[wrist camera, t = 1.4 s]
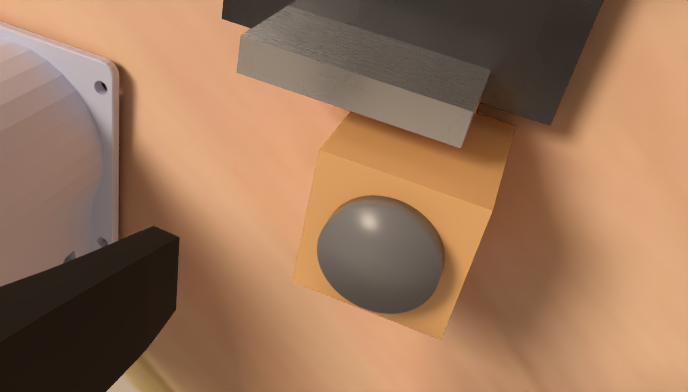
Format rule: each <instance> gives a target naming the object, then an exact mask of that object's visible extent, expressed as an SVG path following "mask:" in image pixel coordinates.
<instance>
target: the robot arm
mask: <svg viewBox="0 0 688 392" xmlns="http://www.w3.org/2000/svg"><path fill="white" fill-rule="evenodd" d="M101 82H103V83H104V84H105V85H106V87H107V90H106V89H104V87H103V86H102V83H101ZM118 223H119V71H118V69H117V67H116V65H115V64H114V63H113V62H112V61H111V60H109V59H107V58H104V57H102V56H99V55H96V54H93V53H90V52H87V51H84V50H81V49H79V48H76V47H73V46H70V45H67V44H64V43H61V42H58V41H56V40H53V39H50V38H47V37H44V36H41V35H38V34H35V33H33V32H30V31H27V30H24V29H21V28H18V27H15V26H12V25H9V24H7V23H4V22H1V21H0V392H106V391H107V390H108V389H109V388H110V387H111V386H112V385H113V384H114V383H115V382H116V381H117V380H118V379H119V378H120V377H121V376H122V375H123V374H124V373H125V372H126V370H127V369H128V368H129V367H130V366H131V365H132V364H133V363H134V362H135V361H136V360H137V359H138V358H139V357H140V356H141V355H142V354H143V352H144V351H145V350H146V349H147V348H148V347H149V345H150V344H151V343H152V341H153V340H154V339H155V337H156V336H157V335H158V334H159V332H160V331H161V330H162V328H163V327H164V325H165V324H166V323H167V321H168V320H169V318H170V317H171V316H172V314H173V313H174V312H175V310H176V297H177V276H178V255H179V237H177V236H175V235H173V234H171V233H168V232H166V231H164V230H162V229H159V228H157V227H155V226H153V227H150V228H148V229H145V230H143V231H140V232H138V233H135V234H133V235H131V236H128V237H126V238H123V239H121V240H119V241H118Z"/></svg>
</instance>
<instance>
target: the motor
mask: <svg viewBox="0 0 688 392" xmlns="http://www.w3.org/2000/svg"><path fill="white" fill-rule="evenodd" d="M602 2H603V0H224V1H223V11H222V19H224V20H227V21H230V22H234V23H237V24H240V25H243V26H246V27H249V28H252V29H250V30H249V31H247V32H246V33H244V34H243V35H241V39H240V48H239V56H238V65H237V73H240V74H243V75H246V76H249V77H251V78H254V79H257V80H260V81H263V82H266V83H269V84H272V85H275V86H278V87H281V88H284V89H287V90H290V91H293V92H296V93H299V94H302V95H305V96H308V97H310V98H313V99H316V100H319V101H322V102H325V103H328V104H331V105H334V106H337V107H340V108H343V109H346V110H349V111H352V112H355V113H358V114H361V115H364V116H367V117H369V118H372V119H375V120H378V121H381V122H384V123H387V124H390V125H393V126H396V127H399V128H402V129H405V130H408V131H411V132H414V133H417V134H420V135H423V136H426V137H428V138H431V139H434V140H437V141H440V142H443V143H446V144H449V145H452V146H455V147H458V148H461V147H462V144H463V142H464V140H465V137H466V135H467V132H468V130H469V127H470V125H471V123H472V120H473V118H474V115H475V113H476V111H477V108H478V106H479V103H482V104H486V105H489V106H492V107H495V108H498V109H501V110H504V111H507V112H510V113H513V114H516V115H519V116H522V117H526V118H529V119H532V120H535V121H538V122H541V123H544V124H547V125H551V122H552V120H553V118H554V115H555V113H556V111H557V108H558V106H559V104H560V101H561V99H562V96H563V94H564V92H565V89H566V87H567V85H568V82H569V80H570V78H571V75H572V73H573V71H574V68H575V66H576V63H577V61H578V59H579V56H580V54H581V52H582V49H583V47H584V45H585V42H586V40H587V37H588V35H589V33H590V30H591V28H592V26H593V23H594V21H595V19H596V16H597V14H598V12H599V9H600V7H601V4H602Z"/></svg>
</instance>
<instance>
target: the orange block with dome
mask: <svg viewBox="0 0 688 392" xmlns="http://www.w3.org/2000/svg"><path fill="white" fill-rule="evenodd" d="M515 128H516V126H514V125H511V124H508V123H504V122H501V121H498V120H495V119H492V118H489V117H486V116H483V115H480V114H477V113H475V115H474V118H473V120H472V123H471V125H470V127H469V130H468V132H467V135H466V137H465V140H464V142H463V144H462V147H461V148H458V147H455V146H452V145H449V144H446V143H443V142H440V141H437V140H434V139H431V138H428V137H426V136H423V135H420V134H417V133H414V132H411V131H408V130H405V129H402V128H399V127H396V126H393V125H390V124H387V123H384V122H381V121H378V120H375V119H372V118H369V117H367V116H364V115H361V114H358V113H355V112H352V111H351V112H350V113H349V114H348V115H347V117H346V118H345V119H344V120H343V121H342V123H341V124H340V125H339V126H338V128H337V129H336V130H335V131H334V132H333V134H332V135H331V136H330V137H329V138H328V140H327V141H326V142H325V143H324V144H323V146H322V147H321V148H320V149H319V153H318V158H317V163H316V168H315V173H314V178H313V183H312V188H311V193H310V198H309V202H308V207H307V212H306V217H305V222H304V227H303V232H302V237H301V242H300V247H299V252H298V257H297V261H296V266H295V271H294V276H293V281H292V282H294V283H296V284H299V285H302V286H304V287H307V288H309V289H312V290H314V291H317V292H319V293H322V294H325V295H327V296H330V297H332V298H335V299H337V300H340V301H342V302H345V303H348V304H350V305H353V306H355V307H358V308H360V309H363V310H365V311H368V312H371V313H373V314H376V315H378V316H381V317H383V318H386V319H388V320H391V321H394V322H396V323H399V324H401V325H404V326H406V327H409V328H411V329H414V330H417V331H419V332H422V333H424V334H427V335H429V336H432V337H434V338H437V339H439V340H441V339H442V336H443V334H444V331H445V329H446V326H447V324H448V321H449V319H450V316H451V314H452V311H453V309H454V306H455V304H456V301H457V299H458V296H459V294H460V291H461V289H462V286H463V284H464V281H465V279H466V276H467V274H468V271H469V269H470V266H471V264H472V261H473V259H474V256H475V254H476V251H477V249H478V246H479V244H480V241H481V239H482V236H483V234H484V231H485V229H486V226H487V224H488V221H489V219H490V216H491V214H492V211H493V208H494V204H495V200H496V197H497V193H498V190H499V186H500V182H501V179H502V175H503V171H504V168H505V164H506V161H507V157H508V153H509V150H510V146H511V142H512V139H513V135H514V131H515Z"/></svg>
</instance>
